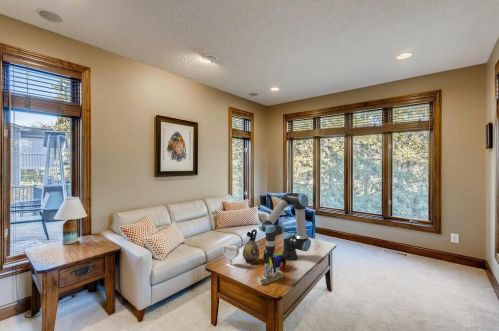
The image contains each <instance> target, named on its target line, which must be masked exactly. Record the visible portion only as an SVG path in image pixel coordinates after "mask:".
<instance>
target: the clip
mask: <svg viewBox="0 0 499 331" xmlns="http://www.w3.org/2000/svg"><path fill="white" fill-rule="evenodd" d="M274 267H275V266H274ZM263 268H264V269H263V270H264V271H263V272H264V274H263V276H264V277H266V278H267V281H268V280H269V273H270V274H272V268H273V265H271V266H270V265H268V266H267V267H265V266H264V267H263ZM274 278H276V276H274Z"/></svg>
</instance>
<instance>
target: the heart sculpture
mask: <svg viewBox="0 0 499 331" xmlns="http://www.w3.org/2000/svg"><path fill="white" fill-rule="evenodd" d="M222 253H223V255H224V257H226V259H227V260H229V261H228V263H227V264H226V263H225V264H226V265H227V266H226V267H228V266H230V267H229V268H232V267H233V269H236V268H235V267H237V268H238V265H234V264H233V260H234V259H235V258H237V257H238V256H239V253H240V248H239V247H238V246H236V245H231V244H225V245H223V246H222Z"/></svg>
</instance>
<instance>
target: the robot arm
mask: <svg viewBox="0 0 499 331" xmlns="http://www.w3.org/2000/svg"><path fill="white" fill-rule="evenodd" d="M309 203H310V202H309V197H308V195H307V194H306V193H301V192H299V193H298V192H287V193H286V194H284V195H283V196H281V197H280V199H279V200H278V203H277V204H276V206H275V207H274V208H273V210H272V211H271V212H270V214H269V215H268V216H267V218H266V219H265V220H264V221H261V222H259V223H258V229H259V231H260V232H264V233H265V249H264V250H263V259H262V262H263V263H264V267H267V266H269V261H270V259H271V261H272V265H273V268H272V277H274V276H276V268H278V262H277V255H275V254H276V253H275V251H276V237H278V236H280V235H282V234H283V250H282V252H281V255H282V256H284V257H286V261H296V260H297V259H298V254H297V250H298V251H301V252H308V251H309V250H310V248H311V244H312V241H311V239H310V238H309V236H308V234H307V225H306V223H307V222H306V209H307V207H309ZM289 206H292V208H293V209H294V213H295V214H294V215H295V227H296V228H295V229H296V233H295V232H288V233H285V226H284V225H282V224H275V223H276V222H277V220H278V219H279V217H280V216H281V214H282V213H283V211H285V209H286V208H288V207H289ZM284 233H285V234H284ZM272 257H273V258H272ZM274 266H275V267H274Z"/></svg>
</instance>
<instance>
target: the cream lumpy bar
mask: <svg viewBox="0 0 499 331" xmlns="http://www.w3.org/2000/svg"><path fill="white" fill-rule="evenodd" d="M283 277H284V273H283V271H282V270H280V271H279V270H278V271H276V278H274V277H272V274H271V272H269V280H268V281H267V278H266V277H264V275H260V276H257V277H256V283H257V284H259V285H260V286H263V285H266V284H269V283H272V282H274V281H277V280H280V279H282V278H283Z"/></svg>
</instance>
